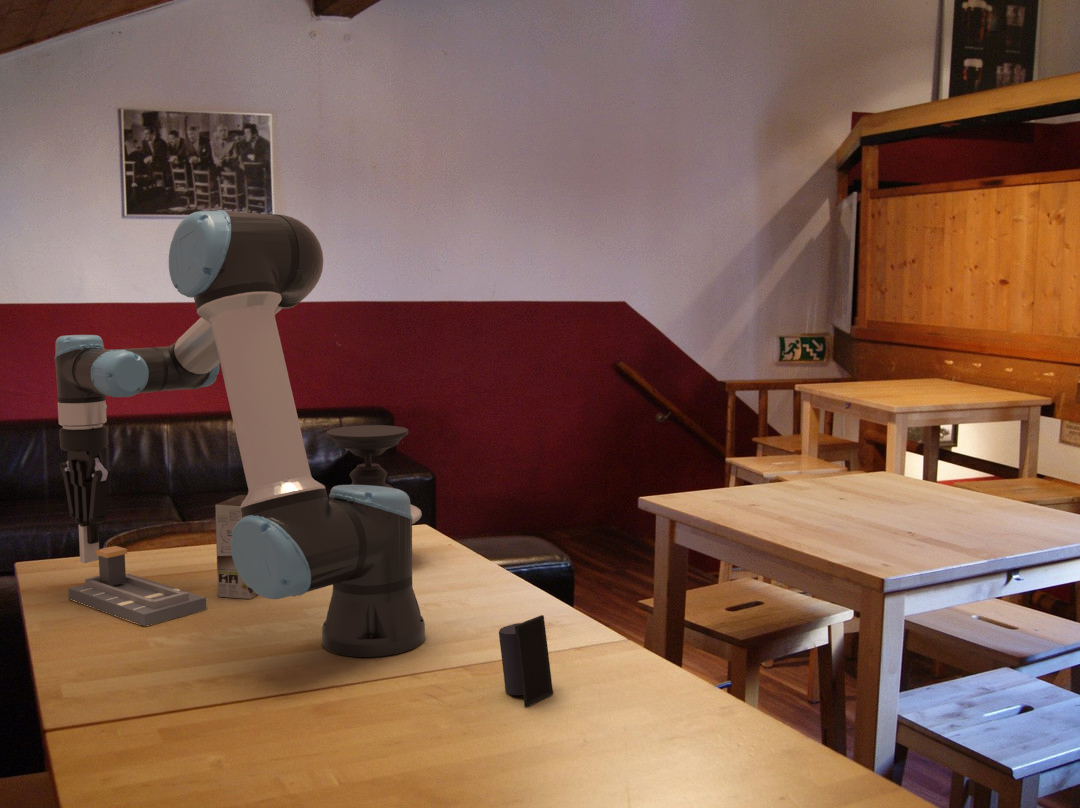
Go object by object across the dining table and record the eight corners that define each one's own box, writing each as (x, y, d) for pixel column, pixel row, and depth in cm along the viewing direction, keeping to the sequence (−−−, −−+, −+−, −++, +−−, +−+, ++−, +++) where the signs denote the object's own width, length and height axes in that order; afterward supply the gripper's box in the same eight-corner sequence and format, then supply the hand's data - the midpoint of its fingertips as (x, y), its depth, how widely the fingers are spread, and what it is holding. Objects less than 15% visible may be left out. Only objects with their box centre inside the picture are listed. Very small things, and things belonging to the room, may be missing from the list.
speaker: (565, 696, 133) (557, 616, 133) (525, 708, 130) (517, 626, 130) (535, 682, 140) (528, 606, 139) (497, 693, 137) (489, 616, 136)
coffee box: (252, 599, 175) (248, 505, 173) (216, 597, 176) (213, 503, 174) (276, 584, 184) (273, 494, 182) (242, 582, 185) (239, 493, 183)
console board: (206, 609, 170) (205, 590, 169) (144, 627, 161) (144, 606, 161) (129, 584, 184) (128, 567, 183) (68, 599, 175) (67, 581, 175)
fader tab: (128, 582, 177) (127, 549, 176) (108, 587, 174) (107, 553, 173) (117, 578, 179) (115, 545, 178) (97, 583, 176) (95, 550, 175)
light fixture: (314, 554, 204) (310, 425, 201) (413, 547, 209) (411, 421, 206) (322, 582, 185) (318, 440, 182) (430, 573, 190) (428, 435, 188)
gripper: (124, 426, 177) (130, 562, 179) (84, 420, 185) (90, 550, 187) (82, 431, 171) (89, 572, 174) (42, 424, 179) (49, 559, 182)
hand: (90, 560), depth 180 cm, fingers closed
